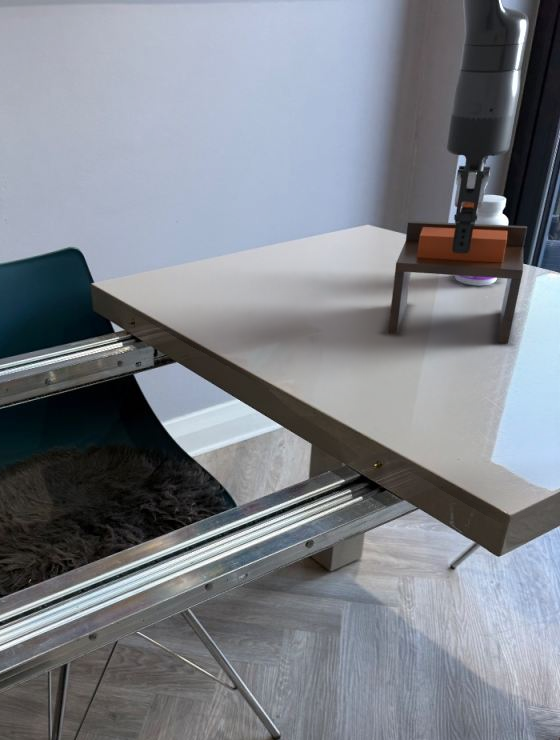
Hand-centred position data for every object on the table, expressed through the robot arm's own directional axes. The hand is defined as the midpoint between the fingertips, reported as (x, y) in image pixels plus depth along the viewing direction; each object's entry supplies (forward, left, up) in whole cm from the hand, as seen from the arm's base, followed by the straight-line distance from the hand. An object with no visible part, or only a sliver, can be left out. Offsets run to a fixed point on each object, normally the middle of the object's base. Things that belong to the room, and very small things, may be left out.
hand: (462, 243), depth 106 cm
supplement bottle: (+9, -20, -12) cm, 25 cm away
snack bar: (0, 0, -2) cm, 2 cm away
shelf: (+1, -1, -12) cm, 12 cm away
